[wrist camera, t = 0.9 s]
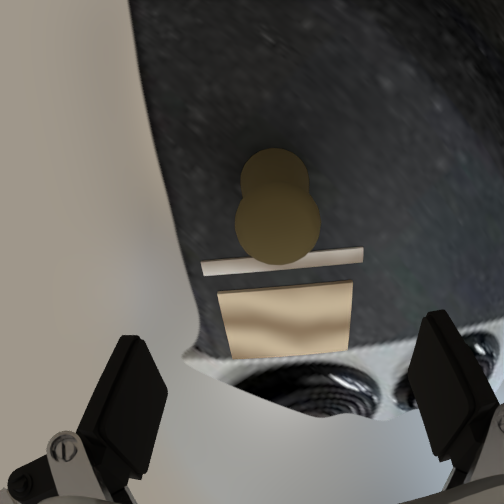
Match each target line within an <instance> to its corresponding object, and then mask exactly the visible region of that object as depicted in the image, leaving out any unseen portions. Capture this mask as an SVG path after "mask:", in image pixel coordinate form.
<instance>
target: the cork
mask: <svg viewBox="0 0 504 504" xmlns="http://www.w3.org/2000/svg"><path fill="white" fill-rule="evenodd" d="M240 185H241V191H242V196H243V199H242V200H241V202H240V204H239V207H238V209H237V212H236V215H235V231H236V234H237V237H238V240H239V243H240V244H241V246H242V247H243V249H244V250H245V251H246V253H247V254H249V255H250V256H252V257H253V258H254V259H256V260H257V261H260V262H263V263H266V264H268V265H285V264H290V263H294V262H296V261H298V260H299V259H301V258H303V257H305V256H306V255H307V254H308V253H309V252H310V251H311V250H312V249H313V247H314V245H315V244H316V242H317V240H318V238H319V233H320V226H321V219H320V214H319V209H318V207H317V205H316V203H315V202H314V200H313V198H312V197H311V195H310V194H309V176H308V172H307V168H306V167H305V165H304V163H303V162H302V160H301V159H300V158H298V157H297V156H296V155H295V154H294V153H292V152H290V151H287V150H285V149H279V148H269V149H265V150H261V151H259V152H258V153H256V154H254V155H253V156H251V158H250V159H249V160H248V161H247V162H246V163H245V165H244V167H243V170H242V173H241V183H240Z"/></svg>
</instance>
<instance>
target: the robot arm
mask: <svg viewBox="0 0 504 504" xmlns="http://www.w3.org/2000/svg"><path fill="white" fill-rule="evenodd" d="M408 379H409V382H410V384H411V387H412V390H413V393H414V396H415V399H416V401H417V404H418V407H419V410H420V413H421V416H422V420H423V423H424V426H425V429H426V432H427V435H428V439H429V442H430V445H431V449H432V452H433V454H434V456H438V458H439V461H440V462H443V461H446V460H449V459H451V461H452V465H453V469H452V471H451V473H450V475H449V477H448V479H447V481H446V483H445V485H444V487H443V489H442V491H441V492H439V493H436V494H432V495H429V496H426V497H422V498H418V499H415V500H411V501H407V502H403V503H399V504H504V403H503V404H501V405H500V404H499V402H498V400H497V398H496V396H495V394H494V392H493V390H492V388H491V386H490V384H489V382H488V380H487V378H486V376H485V374H484V372H483V370H482V369H481V367H480V365H479V363H478V361H477V359H476V358H475V356H474V354H473V352H472V351H471V349H470V347H469V346H468V345H467V344H466V343H465V342H464V340H463V338H462V337H461V335H460V333H459V332H458V330H457V328H456V327H455V325H454V323H453V322H452V320H451V318H450V317H449V315H448V314H447V312H446V311H445V310H437V311H431V312H428V313H427V315H426V317H424V318H423V319H422V322H421V326H420V330H419V334H418V338H417V341H416V345H415V348H414V352H413V355H412V359H411V362H410V365H409V368H408ZM167 396H168V390H167V387H166V385H165V383H164V381H163V379H162V377H161V375H160V373H159V371H158V369H157V366H156V364H155V362H154V360H153V358H152V356H151V354H150V352H149V349H148V347H147V345H146V343H145V341H144V340H142V339H140V337H139V336H137V335H122V336H121V337H120V339H119V341H118V343H117V345H116V347H115V349H114V351H113V353H112V355H111V357H110V359H109V361H108V363H107V365H106V367H105V369H104V371H103V373H102V375H101V377H100V379H99V382H98V384H97V386H96V388H95V390H94V392H93V395H92V397H91V399H90V401H89V403H88V406H87V408H86V410H85V413H84V415H83V417H82V419H81V422H80V424H79V426H78V429H77V431H76V433H74V432H72V431H62V432H59V433H57V434H56V435H54V436H53V437H52V438H51V439H50V441H49V443H48V445H47V450H46V451H47V454H46V455H44V456H42V457H40V458H38V459H36V460H34V461H32V462H30V463H28V464H26V465H24V466H22V467H20V468H18V469H16V470H15V471H13V472H12V474H11V475H10V477H9V479H8V485H7V486H8V489H5V488H3V489H2V490H1V491H0V504H137V502H136V500H135V499H134V497H133V495H132V493H131V491H130V490H129V488H128V486H127V483H128V480H129V478H132V479H138V480H141V479H142V475H143V474H145V473H146V472H147V470H148V467H149V463H150V459H151V455H152V452H153V448H154V444H155V440H156V436H157V433H158V429H159V425H160V421H161V418H162V414H163V411H164V407H165V403H166V400H167Z"/></svg>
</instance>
